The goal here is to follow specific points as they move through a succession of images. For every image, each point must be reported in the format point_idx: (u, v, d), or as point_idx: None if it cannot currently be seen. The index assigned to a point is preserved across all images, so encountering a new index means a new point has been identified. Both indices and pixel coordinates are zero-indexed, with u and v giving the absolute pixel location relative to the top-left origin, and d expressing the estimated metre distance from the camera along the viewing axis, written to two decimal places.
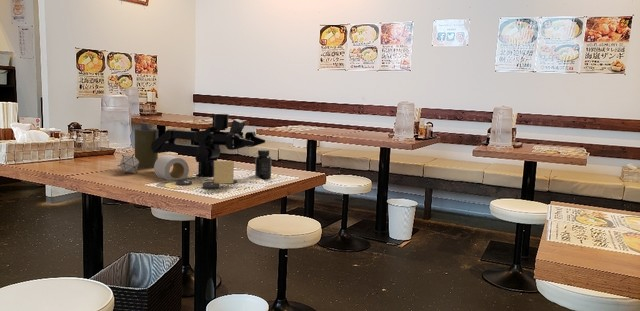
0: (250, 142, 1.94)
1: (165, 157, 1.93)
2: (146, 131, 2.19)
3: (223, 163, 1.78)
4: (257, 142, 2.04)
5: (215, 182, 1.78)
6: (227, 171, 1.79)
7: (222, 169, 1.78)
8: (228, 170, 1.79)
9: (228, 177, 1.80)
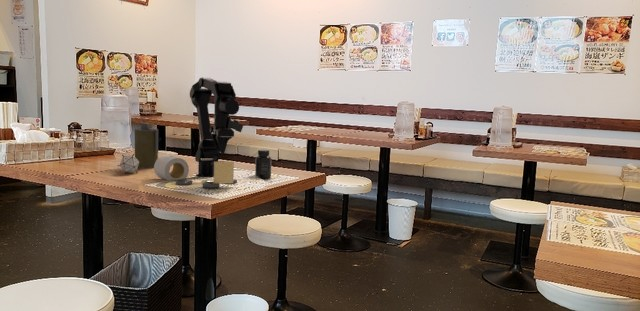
0: (223, 150, 1.91)
1: (165, 157, 1.93)
2: (146, 131, 2.19)
3: (223, 163, 1.78)
4: (217, 142, 1.98)
5: (215, 182, 1.78)
6: (227, 171, 1.79)
7: (222, 169, 1.78)
8: (228, 170, 1.79)
9: (228, 177, 1.80)
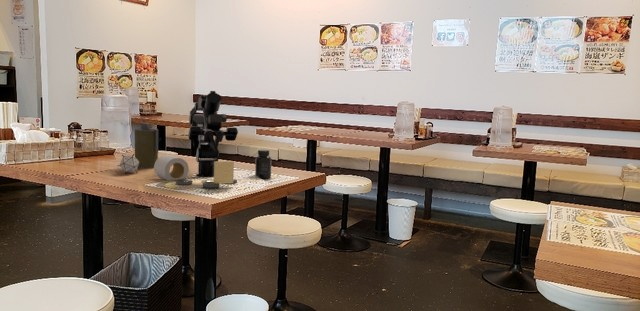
0: (213, 147, 1.91)
1: (165, 157, 1.93)
2: (146, 131, 2.19)
3: (223, 163, 1.78)
4: None
5: (215, 182, 1.78)
6: (227, 171, 1.79)
7: (222, 169, 1.78)
8: (228, 170, 1.79)
9: (228, 177, 1.80)
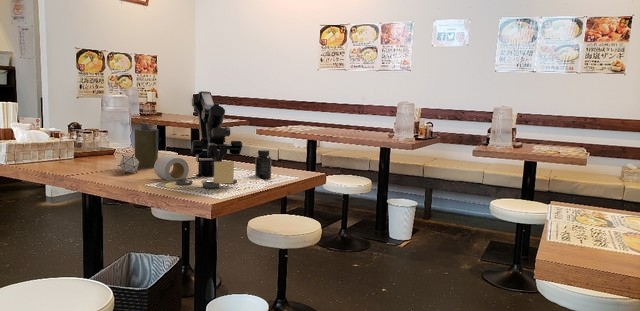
0: None
1: (165, 157, 1.93)
2: (146, 131, 2.19)
3: (223, 163, 1.78)
4: None
5: (215, 182, 1.78)
6: (227, 171, 1.79)
7: (222, 169, 1.78)
8: (228, 170, 1.79)
9: (228, 177, 1.80)
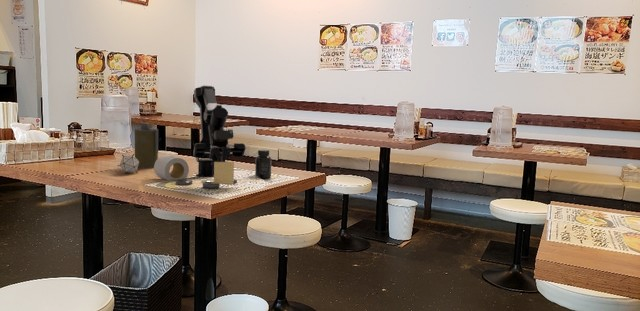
0: None
1: (165, 157, 1.93)
2: (146, 131, 2.19)
3: (223, 163, 1.77)
4: (221, 161, 1.82)
5: (215, 182, 1.78)
6: (227, 171, 1.78)
7: (222, 169, 1.78)
8: (228, 171, 1.78)
9: (228, 178, 1.78)
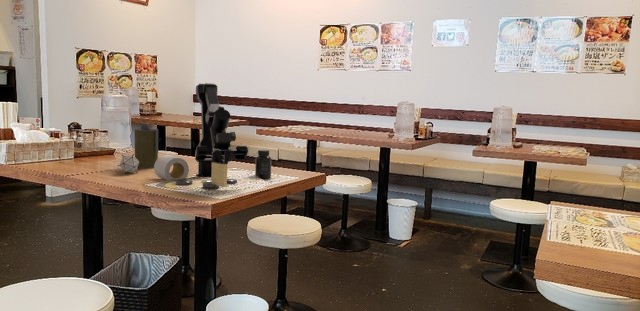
0: None
1: (165, 157, 1.93)
2: (146, 131, 2.19)
3: (217, 165, 1.74)
4: None
5: (212, 183, 1.77)
6: (219, 173, 1.74)
7: (216, 171, 1.75)
8: (220, 173, 1.73)
9: (220, 180, 1.73)
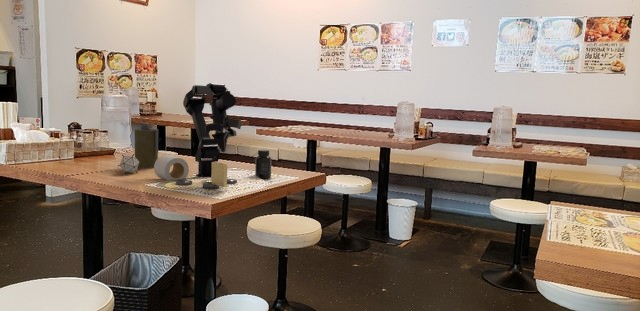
0: (222, 148, 1.94)
1: (165, 157, 1.93)
2: (146, 131, 2.19)
3: (217, 165, 1.74)
4: None
5: (212, 183, 1.77)
6: (219, 173, 1.74)
7: (216, 171, 1.75)
8: (220, 173, 1.73)
9: (220, 180, 1.73)
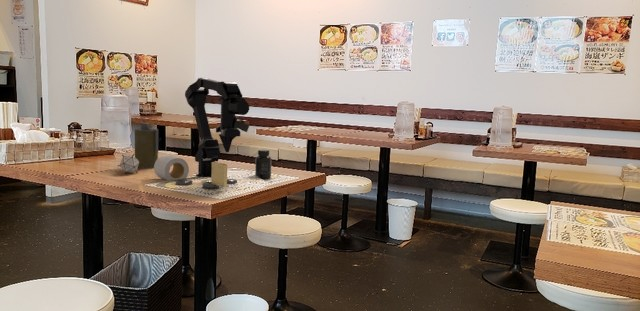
0: (228, 149, 1.97)
1: (165, 157, 1.93)
2: (146, 131, 2.19)
3: (217, 165, 1.74)
4: None
5: (212, 183, 1.77)
6: (219, 173, 1.74)
7: (216, 171, 1.75)
8: (220, 173, 1.73)
9: (220, 180, 1.73)
